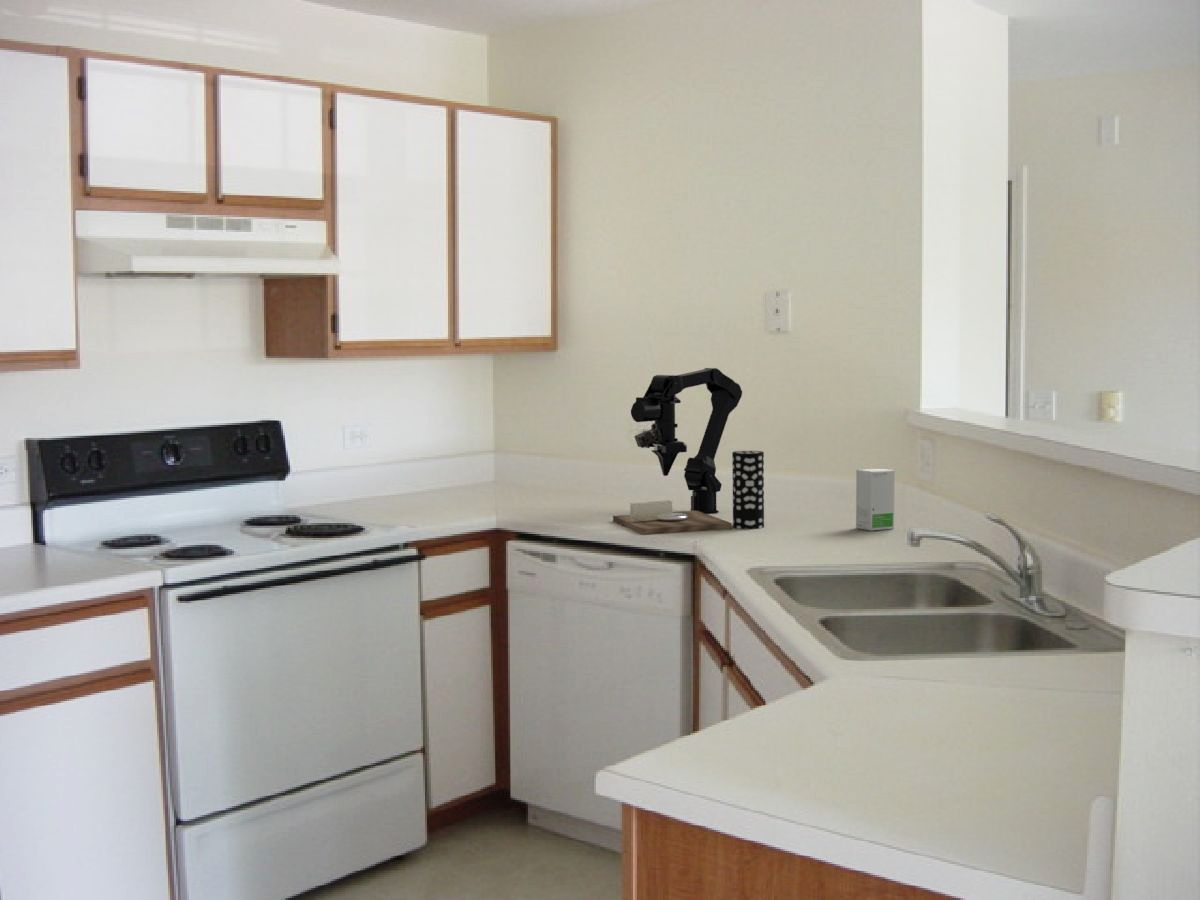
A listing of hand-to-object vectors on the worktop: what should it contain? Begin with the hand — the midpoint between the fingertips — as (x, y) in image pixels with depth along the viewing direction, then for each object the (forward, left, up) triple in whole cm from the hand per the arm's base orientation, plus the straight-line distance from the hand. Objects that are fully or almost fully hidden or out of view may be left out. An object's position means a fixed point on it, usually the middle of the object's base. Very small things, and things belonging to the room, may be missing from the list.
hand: (665, 475), depth 368 cm
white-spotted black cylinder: (-15, +23, -12) cm, 30 cm away
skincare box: (-44, +39, -12) cm, 60 cm away
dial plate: (+3, +12, -12) cm, 17 cm away
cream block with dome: (+6, +12, -10) cm, 17 cm away
